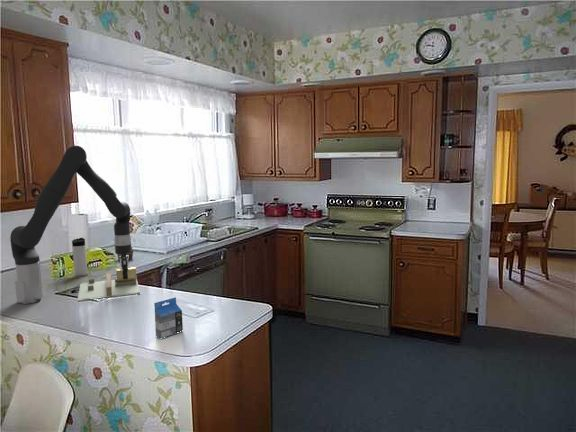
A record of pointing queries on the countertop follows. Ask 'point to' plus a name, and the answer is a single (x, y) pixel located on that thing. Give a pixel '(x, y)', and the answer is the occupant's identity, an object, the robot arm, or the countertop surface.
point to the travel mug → (79, 257)
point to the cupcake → (127, 255)
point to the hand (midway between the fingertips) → (125, 277)
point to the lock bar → (131, 275)
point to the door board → (103, 290)
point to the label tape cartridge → (167, 318)
